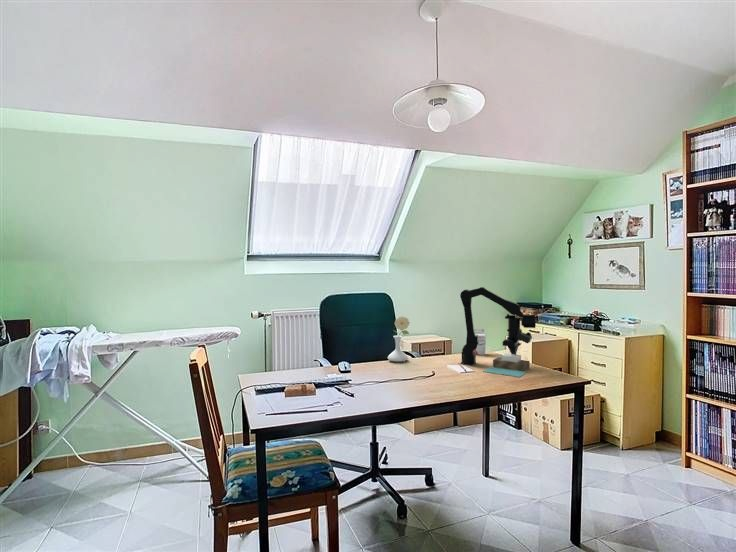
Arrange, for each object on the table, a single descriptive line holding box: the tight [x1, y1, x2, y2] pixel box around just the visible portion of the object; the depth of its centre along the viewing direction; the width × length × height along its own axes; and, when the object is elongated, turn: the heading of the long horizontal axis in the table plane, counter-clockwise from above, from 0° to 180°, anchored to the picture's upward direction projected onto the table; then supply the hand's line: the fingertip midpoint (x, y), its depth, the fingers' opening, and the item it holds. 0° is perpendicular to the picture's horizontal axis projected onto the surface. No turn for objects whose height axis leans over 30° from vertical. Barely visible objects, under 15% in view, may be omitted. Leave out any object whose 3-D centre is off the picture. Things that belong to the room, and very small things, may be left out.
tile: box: [501, 353, 522, 362], centre depth 220 cm, size 8×6×2 cm
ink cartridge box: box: [473, 328, 487, 356], centre depth 253 cm, size 9×5×15 cm, turn 84°
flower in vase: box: [387, 316, 410, 363], centre depth 237 cm, size 13×11×25 cm
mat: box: [482, 366, 527, 378], centre depth 212 cm, size 18×11×1 cm, turn 53°
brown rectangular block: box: [492, 356, 530, 372], centre depth 220 cm, size 16×8×4 cm, turn 53°
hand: (514, 357), depth 223 cm, fingers closed
